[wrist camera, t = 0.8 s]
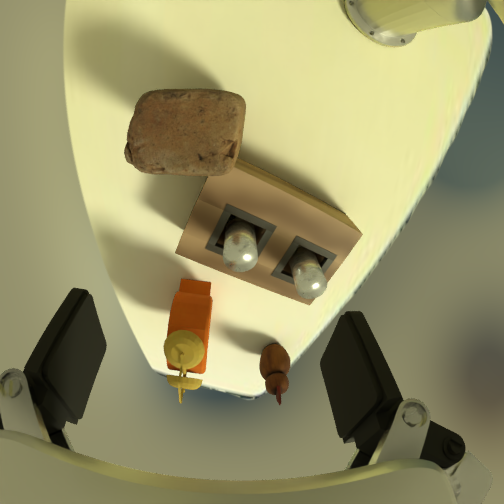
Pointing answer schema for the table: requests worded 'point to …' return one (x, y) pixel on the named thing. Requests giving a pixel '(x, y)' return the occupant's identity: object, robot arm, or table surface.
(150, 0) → the table surface
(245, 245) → the peg
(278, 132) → the table surface
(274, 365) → the wooden figurine
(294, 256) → the peg
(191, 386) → the alarm clock
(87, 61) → the table surface
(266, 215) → the socket block
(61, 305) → the robot arm
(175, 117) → the block
